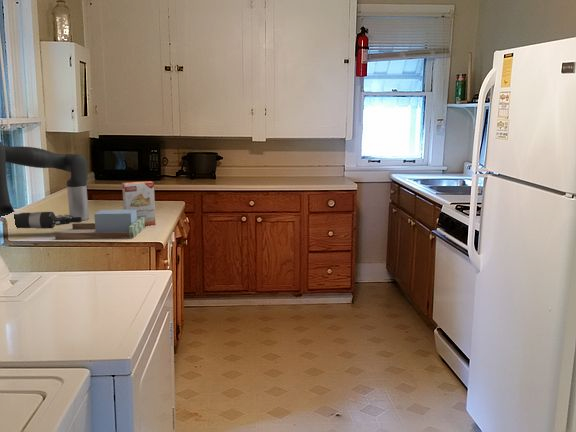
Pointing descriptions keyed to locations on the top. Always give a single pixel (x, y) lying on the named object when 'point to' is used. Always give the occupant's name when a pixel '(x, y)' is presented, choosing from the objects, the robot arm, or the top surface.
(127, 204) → the cracker box
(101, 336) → the top surface
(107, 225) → the slate block
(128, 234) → the tray
